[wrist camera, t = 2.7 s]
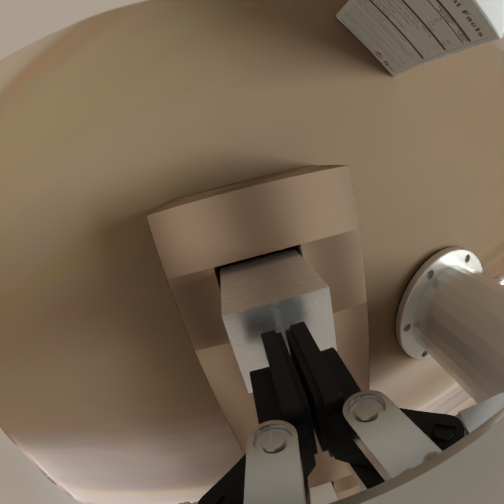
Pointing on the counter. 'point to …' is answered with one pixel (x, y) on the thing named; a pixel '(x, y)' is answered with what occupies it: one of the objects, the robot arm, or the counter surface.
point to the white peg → (323, 494)
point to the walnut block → (258, 243)
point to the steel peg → (273, 305)
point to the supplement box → (421, 28)
